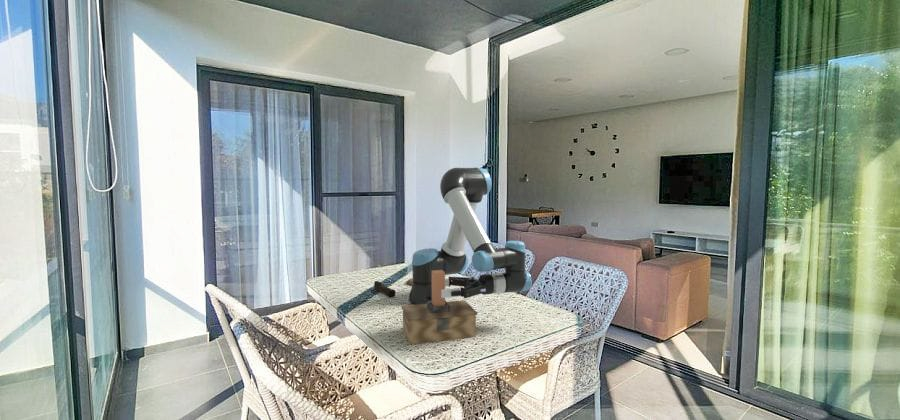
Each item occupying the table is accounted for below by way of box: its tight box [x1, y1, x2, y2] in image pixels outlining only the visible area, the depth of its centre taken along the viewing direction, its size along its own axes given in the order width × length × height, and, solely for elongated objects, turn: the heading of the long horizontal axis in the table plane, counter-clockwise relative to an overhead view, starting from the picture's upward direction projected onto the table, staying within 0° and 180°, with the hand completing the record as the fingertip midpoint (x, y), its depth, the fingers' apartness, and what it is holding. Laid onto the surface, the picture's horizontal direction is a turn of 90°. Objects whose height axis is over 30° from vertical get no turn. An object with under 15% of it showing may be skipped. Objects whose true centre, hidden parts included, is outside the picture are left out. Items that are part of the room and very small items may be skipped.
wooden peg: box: [432, 270, 446, 307], centre depth 148 cm, size 4×4×14 cm
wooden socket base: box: [401, 299, 478, 345], centre depth 149 cm, size 25×15×11 cm, turn 106°
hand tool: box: [373, 280, 397, 299], centre depth 201 cm, size 19×4×5 cm, turn 33°
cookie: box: [406, 277, 413, 287], centre depth 217 cm, size 10×11×3 cm
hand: (436, 288), depth 148 cm, fingers open, 13 cm apart
